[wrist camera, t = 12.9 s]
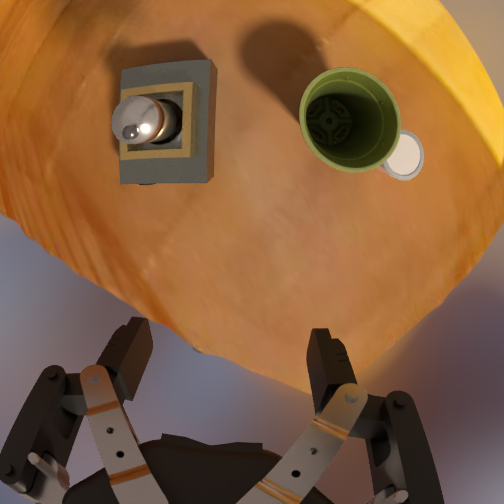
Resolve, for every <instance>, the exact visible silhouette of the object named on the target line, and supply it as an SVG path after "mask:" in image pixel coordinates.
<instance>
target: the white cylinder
mask: <svg viewBox="0 0 504 504" xmlns="http://www.w3.org/2000/svg"><path fill="white" fill-rule="evenodd" d="M423 162H424V150H423V147H422V144H421V142H420V140H419V139H418V138H417V137H416V136H415V134H413V133H411V132H409V131H407V130H401V133H400V138H399V142H398V144H397V146H396V148H395V150H394V152H393V153H392V155H391V156H390V157H389V158H388V159H387V160H386V161H385V162H384V163H383V164H381V165H380V166H378V167H377V168H379V169H380V170H382V171H384V172H385V173H387V174H389V175H390V176H392V177H394V178H396V179H398V180H409V179H411V178H413V177H415V176H416V175H417V174H418V173H419V171H420V170H421V168H422V165H423Z"/></svg>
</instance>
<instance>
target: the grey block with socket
mask: <svg viewBox="0 0 504 504" xmlns="http://www.w3.org/2000/svg"><path fill="white" fill-rule="evenodd" d="M216 88H217V68H216V66H215V65H214V63H213V62H212V60H211V59H205V60H188V61H177V62H167V63H159V64H151V65H144V66H138V67H132V68H127V69H122V70H121V83H120V101H119V103H120V102H121V101H122V100H124V99H125V98H127V97H130V96H136V95H138V96H145V97H148V98H152V99H154V100H157V101H160V102H164V103H167V104H169V105H171V106H172V107H173V108H174V109H175V110H176V112H177V114H178V120H179V121H178V126H177V129H176V131H175V132H174V134H173V135H172V136H171V137H169V138H168V139H166V140H163V141H155V142H146V143H142V144H126V143H123V142H121V141H120V140H119V167H120V184H139V185H152V184H156V183H207V182H208V181H209V180H210V179H211V178H212V177H213V176H214V139H215V110H216Z"/></svg>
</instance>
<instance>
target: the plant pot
mask: <svg viewBox="0 0 504 504" xmlns="http://www.w3.org/2000/svg"><path fill="white" fill-rule="evenodd" d="M335 104H336V105H338V106H339V107H341V109H343V111H342V112H340V110H338V109H337V108H336V107H334V105H335ZM315 105H317V106H318V108H317V109H316V110H315V111H314V112H313V114H311V113H310V111H311V109H312V108H313V107H314V106H315ZM327 119H331V123H330V124H328V123H327ZM299 122H300V127H301V131H302V134H303V137H304V139H305V141H306V143H307V144H308V146H309V148H310V149H311V150H312V152H313V153H314V154H315V155H316V156H317V157H318V158H319V159H320V160H322V161H323V162H324V163H326V164H327V165H329V166H331V167H333V168H335V169H338V170H341V171H345V172H354V173H357V172H365V171H368V170H371V169H374V168H376V167H378V166H380V165H381V164H383V163H384V162H385V161H386V160H387V159H388V158H389V157H390V156H391V155H392V153H393V152H394V150H395V148H396V146H397V144H398V142H399V138H400V133H401V117H400V111H399V108H398V105H397V103H396V100H395V98H394V97H393V95H392V93H391V92H390V90H389V89H388V88H387V87H386V86H385V85H384V83H382V82H381V81H380V80H379V79H378V78H377V77H375V76H374V75H372V74H370V73H368V72H366V71H364V70H361V69H357V68H351V67H339V68H334V69H330V70H328V71H325V72H323V73H321V74H320V75H318V76H317V77H316V78H314V79H313V80H312V81H311V82H310V84H309V85H308V86H307V88H306V89H305V91H304V93H303V96H302V99H301V102H300V107H299ZM343 129H345V133H344V134H343V135H342V136H341V137H339V134H340V133H341V132H342V130H343ZM314 131H316V132H317V133H318V134H319V135H321V136H322V139H321V138H320V137H318V136H317V135H315V133H314ZM334 137H335V143H334Z"/></svg>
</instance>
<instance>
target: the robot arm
mask: <svg viewBox="0 0 504 504" xmlns="http://www.w3.org/2000/svg"><path fill="white" fill-rule="evenodd" d="M152 349H153V340H152V336H151V332H150V327H149V322H148V319H147V318H142V317H132V318H131V319H130V321H129V323H128V324H127V326H126V325H122V326H121V327H120V328H119V329H117V330H116V331H115V332H114V334H113V335H112V337H111V339H110V340H109V342H108V345H106V347H105V349H104V351H103V352H102V354H101V356H100V357H99V359H98V361H97V363H96V364H95V365H90V366H88V367H86V368H85V369H84V370H83V371H82V372H81V373H73V374H66V373H65V371H64V369H63V368H62V367H61V366H58V365H52V366H49V367H47V368H45V369H44V370H43V372H42V373H41V375H40V376H39V378H38V380H37V382H36V383H35V385H34V387H33V389H32V390H31V392H30V394H29V396H28V398H27V400H26V402H25V403H24V405H23V407H22V409H21V411H20V413H19V415H18V417H17V419H16V421H15V423H14V425H13V427H12V429H11V431H10V433H9V435H8V437H7V440H6V442H5V444H4V446H3V449H2V451H1V454H0V480H1V481H2V482H3V483H5V484H6V485H8V486H9V487H10V488H12V489H13V490H14V491H15V492H17V493H18V494H20V495H22V496H23V497H25V498H26V499H28V500H30V501H31V502H34V503H36V504H334V503H333V502H332V501H331V500H329V499H328V498H327V497H326V496H325V495H324V494H322V493H321V492H320V491H319V490H318V489H317V488H316V487H314V485H315V483H316V482H317V481H318V479H319V478H320V476H321V475H322V474H323V472H324V471H325V469H326V468H327V467H328V465H329V464H330V462H331V461H332V459H333V458H334V456H335V455H336V453H337V452H338V450H339V449H340V447H341V445H342V444H343V442H344V441H345V439H346V437H347V436H351V437H357V438H364V439H365V441H366V446H367V452H368V458H369V464H370V469H371V476H372V482H373V489H374V497H372V498H371V499H370V500H368V502H367V503H366V504H444V499H443V495H442V491H441V487H440V483H439V479H438V475H437V471H436V468H435V464H434V461H433V457H432V454H431V451H430V447H429V444H428V441H427V438H426V435H425V432H424V429H423V426H422V423H421V420H420V417H419V414H418V412H417V409H416V406H415V404H414V401H413V399H412V397H411V396H410V395H409V394H407V393H406V392H403V391H393V392H391V393H389V394H388V395H387V397H379V396H373V395H369V394H367V392H366V391H365V389H364V388H362V387H361V386H360V385H358V384H357V381H356V378H355V375H354V372H353V369H352V366H351V363H350V361H349V357H348V355H347V351H346V349H345V346H344V344H343V343H342V342H341V341H340V340H339V339H338V338H337V339H331V335H330V332H329V329H328V328H313V329H312V331H311V336H310V340H309V345H308V349H307V357H306V360H307V367H308V373H309V379H310V384H311V390H312V396H313V402H314V407H315V414H316V416H317V415H319V417H318V418H317V419H314V420H313V421H312V422H311V424H310V425H309V426H308V427H307V429H306V430H305V431H304V432H303V434H302V435H301V436H300V437H299V439H298V440H297V441H296V442H295V444H294V445H293V446H292V447H291V448H290V450H289V451H288V452H287V453H286V454H285V455H284V457H282V456H280V455H278V454H276V453H274V452H271V451H268V450H264V449H262V443H244V442H235V443H229V444H221V445H213V446H212V445H207V444H204V443H201V442H198V441H195V440H192V439H190V438H187V437H181V436H175V435H169V434H163V433H162V437H161V439H160V440H152V441H148V442H145V443H142V444H141V443H140V441H139V439H138V437H137V435H136V433H135V431H134V429H133V427H132V425H131V423H130V420H129V418H128V416H127V414H126V411H125V409H124V407H123V403H124V400H125V399H126V400H130V401H133V399H134V396H135V393H136V391H137V388H138V385H139V383H140V381H141V378H142V375H143V373H144V371H145V368H146V366H147V363H148V361H149V358H150V356H151V353H152ZM84 415H87V418H88V421H89V424H90V427H91V431H92V434H93V437H94V440H95V442H96V445H97V448H98V451H99V453H100V456H101V459H102V461H103V463H104V466H105V467H104V468H102V469H101V470H99V471H97V472H96V473H94V474H92V475H91V476H89V477H87V478H86V479H84V480H82V481H80V482H79V483H77V484H75V485H73V486H72V487H71V488H69V486H70V482H69V474H68V472H67V470H66V469H65V468H66V465H67V462H68V459H69V456H70V453H71V450H72V447H73V444H74V441H75V439H76V436H77V433H78V430H79V428H80V425H81V422H82V420H83V417H84Z"/></svg>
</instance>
